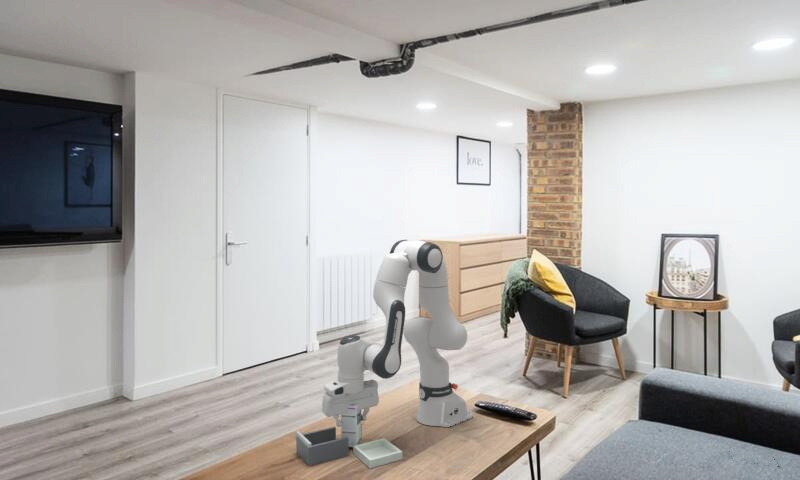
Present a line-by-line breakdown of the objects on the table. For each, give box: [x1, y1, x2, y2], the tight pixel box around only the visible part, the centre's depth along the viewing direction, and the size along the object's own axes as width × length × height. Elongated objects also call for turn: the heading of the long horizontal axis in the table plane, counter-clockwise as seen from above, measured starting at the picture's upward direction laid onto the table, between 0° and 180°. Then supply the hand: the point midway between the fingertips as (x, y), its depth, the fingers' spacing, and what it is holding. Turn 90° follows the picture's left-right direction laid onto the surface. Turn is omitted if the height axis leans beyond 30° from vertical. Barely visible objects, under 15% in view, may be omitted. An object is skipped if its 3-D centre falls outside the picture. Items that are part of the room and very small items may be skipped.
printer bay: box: [295, 425, 349, 467], centre depth 184 cm, size 14×11×7 cm
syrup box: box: [340, 404, 363, 448], centre depth 190 cm, size 6×6×14 cm
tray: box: [352, 438, 403, 469], centre depth 183 cm, size 12×12×3 cm
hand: (351, 423), depth 190 cm, fingers closed on syrup box, 8 cm apart
